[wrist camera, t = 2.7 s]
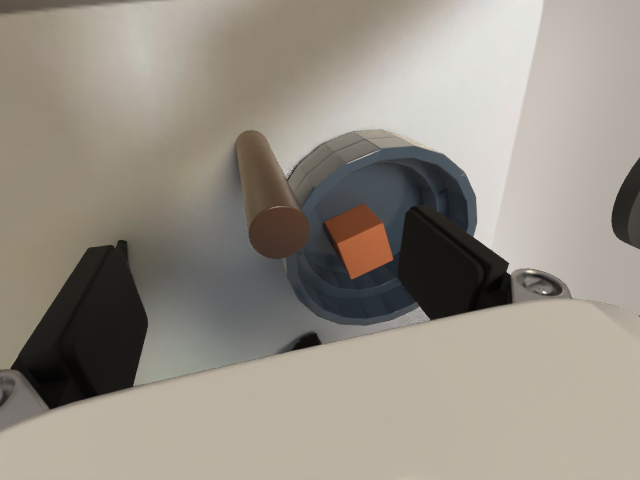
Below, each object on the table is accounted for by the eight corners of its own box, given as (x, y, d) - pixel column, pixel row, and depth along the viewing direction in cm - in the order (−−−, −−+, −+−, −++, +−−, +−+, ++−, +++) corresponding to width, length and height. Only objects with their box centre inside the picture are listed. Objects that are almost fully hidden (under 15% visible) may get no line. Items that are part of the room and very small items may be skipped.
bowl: (449, 123, 28) (500, 139, 23) (421, 271, 35) (454, 307, 30) (267, 134, 24) (278, 156, 19) (280, 295, 32) (291, 340, 27)
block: (364, 202, 29) (383, 222, 25) (375, 237, 31) (393, 260, 27) (323, 221, 28) (337, 244, 25) (337, 255, 31) (351, 279, 27)
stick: (266, 129, 24) (309, 202, 12) (269, 161, 25) (310, 254, 14) (233, 131, 23) (245, 209, 12) (238, 163, 25) (252, 263, 13)
